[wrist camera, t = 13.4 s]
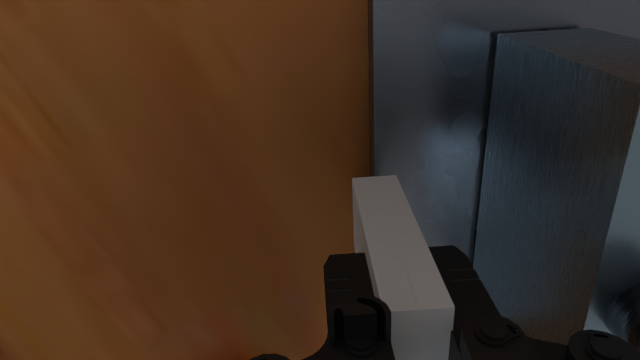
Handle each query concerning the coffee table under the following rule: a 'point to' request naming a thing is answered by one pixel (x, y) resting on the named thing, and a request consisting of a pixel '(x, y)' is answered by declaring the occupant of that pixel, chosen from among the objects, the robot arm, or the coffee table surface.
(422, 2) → the vise
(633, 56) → the block
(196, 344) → the coffee table surface
